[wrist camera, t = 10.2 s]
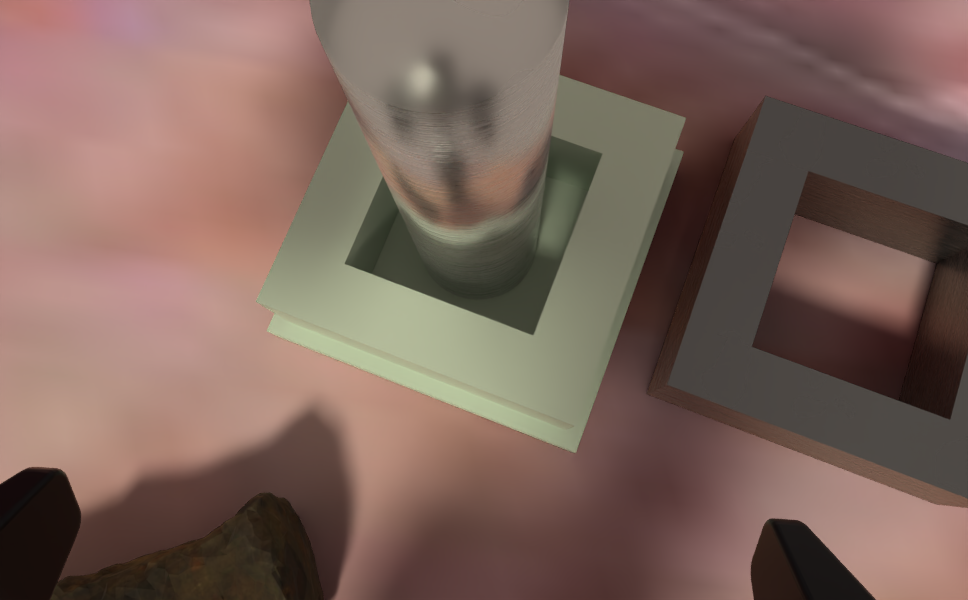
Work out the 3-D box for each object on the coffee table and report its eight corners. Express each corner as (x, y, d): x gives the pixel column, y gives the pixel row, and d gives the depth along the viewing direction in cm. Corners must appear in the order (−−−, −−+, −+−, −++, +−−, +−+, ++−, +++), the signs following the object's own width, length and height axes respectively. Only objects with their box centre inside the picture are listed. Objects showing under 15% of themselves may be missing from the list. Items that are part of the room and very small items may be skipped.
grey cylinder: (542, 293, 23) (586, 93, 10) (425, 305, 23) (316, 122, 10) (529, 181, 23) (553, -139, 11) (415, 193, 23) (302, -111, 11)
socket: (936, 504, 22) (1002, 511, 19) (646, 393, 23) (667, 384, 20) (1007, 231, 24) (1078, 199, 21) (734, 139, 24) (765, 95, 22)
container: (572, 453, 23) (586, 452, 19) (276, 336, 24) (230, 312, 20) (676, 163, 24) (709, 108, 20) (397, 67, 25) (377, -4, 21)
